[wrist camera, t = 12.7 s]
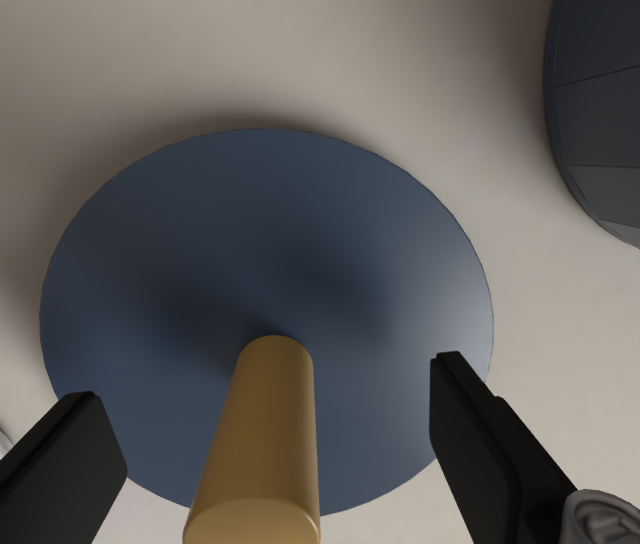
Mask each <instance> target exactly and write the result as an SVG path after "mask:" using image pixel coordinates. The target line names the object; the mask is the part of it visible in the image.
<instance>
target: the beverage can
mask: <svg viewBox="0 0 640 544" xmlns="http://www.w3.org/2000/svg"><path fill="white" fill-rule="evenodd" d="M12 448H13V445H12V443H11V442H10V440H9V439H8V438H7V437H6V436H5V435H4V434H3V433H2V432H1V431H0V460H1V459H2V458H3V457H4V456H5V455H6V454H7V453H8V452H9V451H10V450H11V449H12Z"/></svg>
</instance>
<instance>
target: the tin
mask: <svg viewBox="0 0 640 544" xmlns="http://www.w3.org/2000/svg"><path fill="white" fill-rule="evenodd" d="M543 88H544V103H545V117H546V122H547V127H548V132H549V137H550V142H551V147H552V149H553V152H554V155H555V158H556V161H557V164H558V167H559V169H560V172H561V174H562V176H563V178H564V179H565V181H566V183H567V185H568V187H569V189H570V191H571V193H572V194H573V196H574V197H575V198H576V200H577V201H578V202H579V203H580V205H581V206H582V207H583V209H584V210H585V211H586V212H587V214H588V215H589V216H591V217H592V218H593V219H594V220H595V221H596V222H597V223H598V224H599V225H600V226H601V227H603V228H604V229H605V230H606V231H608V232H609V233H611V234H613V235H614V236H616V237H617V238H619V239H620V240H622V241H624V242H626V243H628V244H631V245H633V246H635V247H638V248H639V249H640V0H554V1H553V5H552V8H551V14H550V20H549V27H548V33H547V39H546V45H545V59H544V77H543Z"/></svg>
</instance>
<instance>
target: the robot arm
mask: <svg viewBox="0 0 640 544" xmlns="http://www.w3.org/2000/svg"><path fill="white" fill-rule="evenodd" d="M429 437H430V442H431V445H432V448H433V450H434V452H435V455H436V457H437V459H438V462H439V464H440V466H441V469H442V471H443V473H444V476H445V478H446V480H447V482H448V485H449V487H450V489H451V492H452V494H453V496H454V499H455V501H456V503H457V506H458V508H459V510H460V512H461V515H462V517H463V519H464V522H465V524H466V526H467V529H468V531H469V533H470V535H471V538H472V540H473V542H474V544H640V510H639V509H638V508H636V507H635V506H634V505H632V504H631V503H629V502H627V501H625V500H623V499H621V498H619V497H617V496H615V495H612V494H609V493H606V492H603V491H599V490H589V489H583V490H579V491H578V490H577V488H576V487H575V486H574V485H573V483H572V482H571V481H570V480H569V478H568V477H567V476H566V475H565V473H564V472H563V471H562V470H561V469H560V467H559V466H558V465H557V464H556V462H555V461H554V460H553V459H552V457H551V456H550V455H549V454H548V452H547V451H546V450H545V449H544V448H543V446H542V445H541V444H540V443H539V441H538V440H537V439H536V438H535V436H534V435H533V434H532V433H531V431H530V430H529V429H528V428H527V427H526V425H525V424H524V423H523V422H522V420H521V419H520V418H519V417H518V415H517V414H516V413H515V412H514V410H513V409H512V408H511V407H510V406H509V404H508V403H507V402H506V401H505V400H504V399H503V398H502V397H499V396H494V395H493V394H492V393H491V391H490V390H489V389H488V387H487V386H486V385H485V384H484V382H483V381H482V380H481V378H480V377H479V376H478V375H477V373H476V372H475V371H474V369H473V368H472V367H471V366H470V364H469V363H468V362H467V360H466V359H465V358H464V357H463V355H462V354H461V353H460V352H459V351H449V352H440V353H437V355H436V358H434V359H431V360H430V398H429ZM127 473H128V468H127V464H126V462H125V459H124V457H123V454H122V451H121V449H120V446H119V444H118V441H117V438H116V436H115V433H114V431H113V428H112V426H111V423H110V420H109V418H108V415H107V413H106V410H105V407H104V405H103V402H102V400H101V398H100V397H99V396H96V395H95V393H93V392H92V391H83V392H74V393H68V394H66V395H64V396H63V397H62V398H61V399H60V400H59V401H58V402H57V403H56V404H55V405H54V406H53V407H52V408H51V409H50V410H49V411H48V412H47V413H46V414H45V415H44V416H43V417H42V418H41V419H40V420H39V421H38V422H37V423H36V424H35V425H34V426H33V427H32V428H31V429H30V430H29V431H28V432H27V433H26V434H25V435H24V436H23V437H22V438H21V439H20V440H19V441H18V443H17V444H16V445H15V446H14V447H13V448H12V449H11V450H10V451H9V452H8V453H7V454H6V455H5V456H4V457H3V458H2V459H1V460H0V544H91V543H92V542H93V540H94V538H95V536H96V534H97V532H98V531H99V529H100V527H101V525H102V523H103V521H104V520H105V518H106V516H107V514H108V512H109V510H110V508H111V507H112V505H113V503H114V501H115V499H116V497H117V496H118V494H119V492H120V490H121V488H122V486H123V485H124V483H125V481H126V478H127Z"/></svg>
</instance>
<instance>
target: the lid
mask: <svg viewBox="0 0 640 544" xmlns="http://www.w3.org/2000/svg"><path fill="white" fill-rule="evenodd" d="M39 318H40V342H41V347H42V352H43V357H44V362H45V367H46V370H47V373H48V375H49V378H50V381H51V384H52V387H53V389H54V392H55V394H56V396H57V398H58V400H60V399H61V398H62V397H63V396H64V395H66V394H68V393H74V392H83V391H92V392H93V393H95V395H96V396H99V397H100V398H101V400H102V402H103V405H104V407H105V410H106V413H107V415H108V418H109V420H110V423H111V426H112V428H113V431H114V433H115V436H116V438H117V441H118V444H119V446H120V449H121V451H122V454H123V457H124V459H125V462H126V464H127V468H128V473H127V477H128V478H129V479H130V480H132V481H133V482H135V483H136V484H138V485H140V486H141V487H143V488H145V489H147V490H149V491H151V492H152V493H154V494H156V495H158V496H160V497H162V498H165V499H167V500H169V501H172V502H174V503H177V504H179V505H181V506H184V507H188V508H190V511H189V514H188V517H187V521H186V524H185V527H184V530H183V536H182V540H183V544H320V541H321V535H320V516H325V515H329V514H333V513H337V512H341V511H345V510H348V509H351V508H354V507H356V506H359V505H362V504H365V503H367V502H370V501H372V500H374V499H376V498H378V497H380V496H382V495H384V494H386V493H389V492H390V491H392V490H394V489H395V488H397V487H399V486H400V485H402V484H404V483H405V482H407V481H409V480H410V479H411V478H413V477H414V476H415V475H417V474H418V473H419V472H420V471H422V470H423V469H424V468H426V467H427V466H428V465H429V464H430V463H431V462H432V461H433V460H435V459H436V458H437V457H436V455H435V452H434V450H433V448H432V445H431V442H430V437H429V398H430V360H431V359H434V358H436V355H437V353H440V352H449V351H459V352H460V353H461V354H462V355H463V357H464V358H465V359H466V360H467V362H468V363H469V364H470V366H471V367H472V368H473V369H474V371H475V372H476V373H477V375H478V376H479V377H480V378H481V380H482V381H483V382H484V383H485V380H486V377H487V373H488V370H489V366H490V360H491V354H492V347H493V311H492V304H491V297H490V291H489V287H488V284H487V281H486V277H485V274H484V271H483V267H482V264H481V262H480V260H479V258H478V256H477V254H476V252H475V250H474V248H473V246H472V243H471V241H470V239H469V238H468V236H467V235H466V233H465V232H464V230H463V229H462V228H461V226H460V225H459V223H458V222H457V220H456V219H455V217H454V216H453V214H452V213H451V212H450V211H449V210H448V209H447V208H446V207H445V206H444V205H443V204H442V203H441V201H440V200H439V199H438V198H437V197H436V196H435V195H434V194H433V193H432V192H431V191H430V190H429V189H427V188H426V187H425V186H424V185H422V184H421V183H420V182H419V181H417V180H416V179H415V178H414V177H412V176H411V175H410V174H409V173H407V172H406V171H405V170H403V169H401V168H399V167H398V166H396V165H394V164H393V163H391V162H389V161H388V160H386V159H384V158H382V157H381V156H379V155H377V154H375V153H373V152H370V151H368V150H365V149H363V148H361V147H358V146H356V145H353V144H351V143H348V142H346V141H343V140H339V139H335V138H331V137H328V136H324V135H320V134H316V133H312V132H306V131H297V130H288V129H279V128H250V129H232V130H227V131H221V132H215V133H210V134H204V135H199V136H196V137H193V138H190V139H187V140H184V141H181V142H178V143H175V144H172V145H169V146H166V147H163V148H161V149H159V150H157V151H156V152H154V153H152V154H150V155H148V156H146V157H144V158H142V159H140V160H138V161H136V162H134V163H132V164H131V165H130V166H128V167H127V168H125V169H124V170H123V171H121V172H120V173H118V174H117V175H116V176H114V177H113V178H112V179H110V180H109V181H107V182H106V183H105V184H104V185H103V186H102V187H101V188H100V189H99V190H98V191H97V192H96V193H95V194H94V195H93V196H92V197H91V198H90V199H89V200H88V201H87V202H86V203H85V204H84V205H83V206H82V208H81V209H80V210H79V212H78V213H77V214H76V216H75V217H74V219H73V220H72V221H71V223H70V224H69V226H68V227H67V228H66V230H65V231H64V233H63V235H62V237H61V239H60V241H59V243H58V245H57V247H56V249H55V251H54V253H53V255H52V258H51V260H50V264H49V267H48V270H47V274H46V277H45V280H44V284H43V289H42V296H41V304H40V312H39Z"/></svg>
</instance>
